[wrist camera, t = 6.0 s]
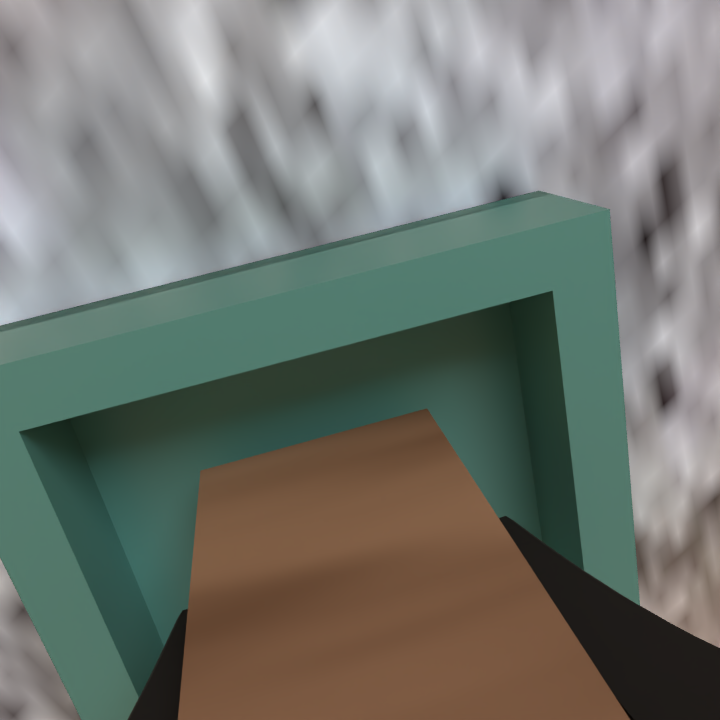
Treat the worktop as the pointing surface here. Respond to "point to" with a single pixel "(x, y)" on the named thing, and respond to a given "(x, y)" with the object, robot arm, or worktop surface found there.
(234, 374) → the teal well
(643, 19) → the worktop surface
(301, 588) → the walnut post
